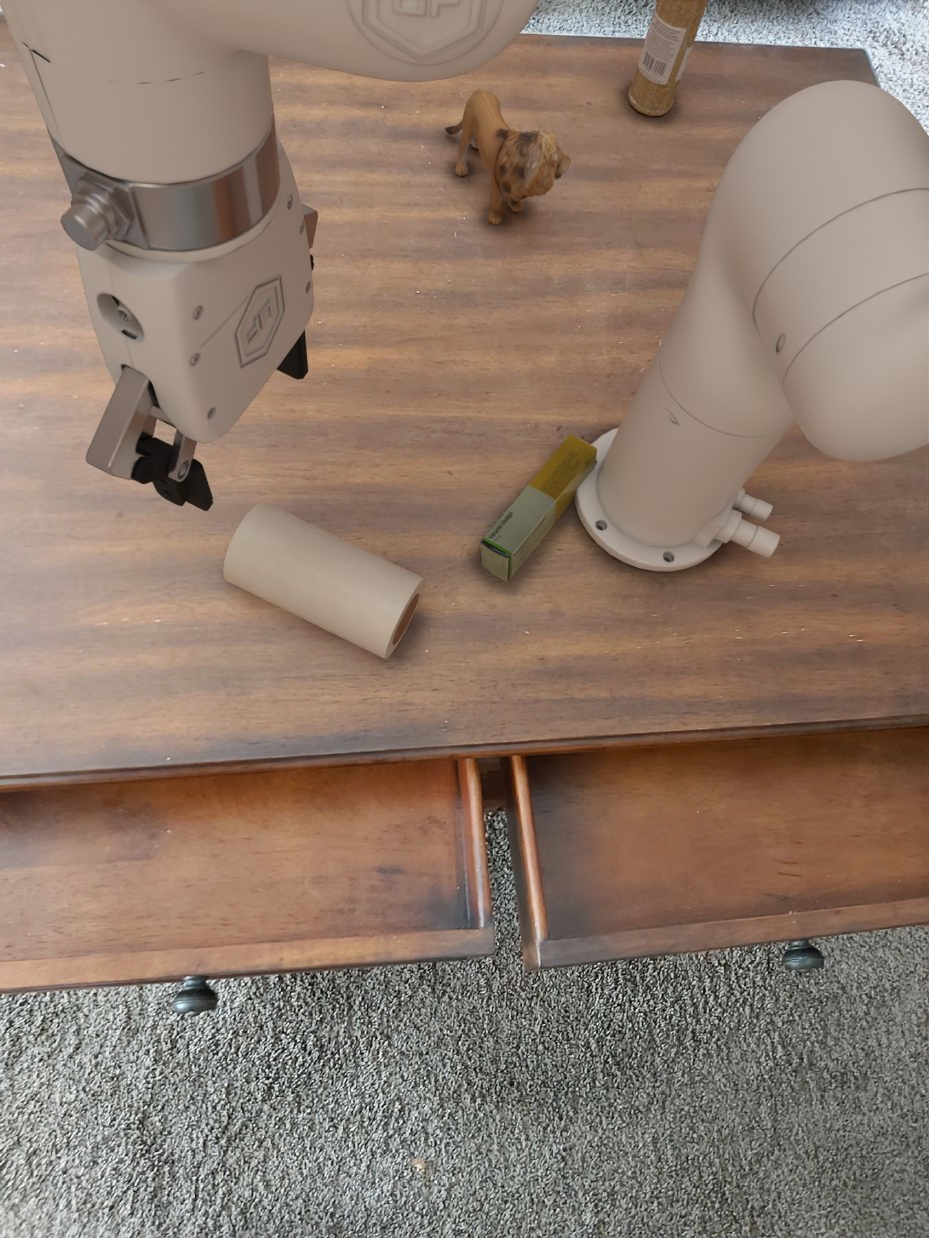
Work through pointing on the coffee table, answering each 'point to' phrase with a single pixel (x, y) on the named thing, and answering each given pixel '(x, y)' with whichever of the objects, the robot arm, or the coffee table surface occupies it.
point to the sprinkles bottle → (665, 54)
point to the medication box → (537, 508)
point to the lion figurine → (508, 154)
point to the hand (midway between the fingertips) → (235, 428)
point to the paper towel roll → (322, 578)
